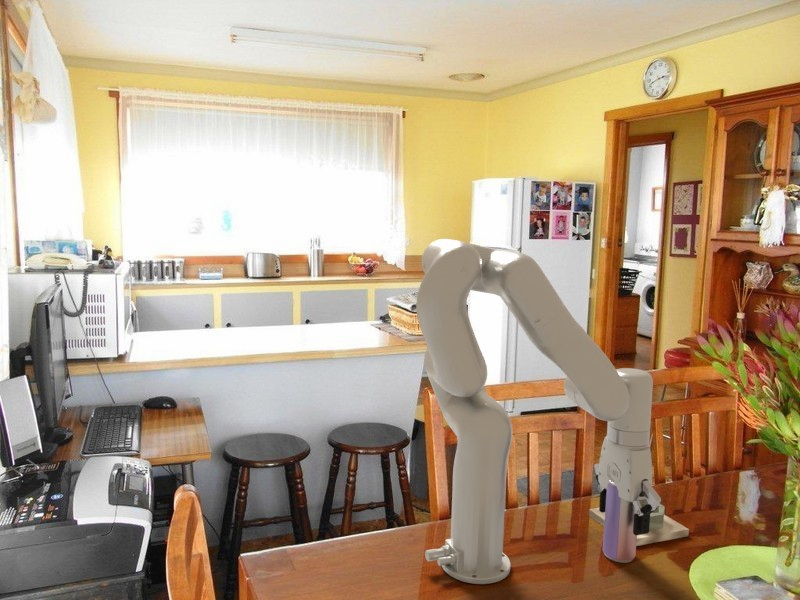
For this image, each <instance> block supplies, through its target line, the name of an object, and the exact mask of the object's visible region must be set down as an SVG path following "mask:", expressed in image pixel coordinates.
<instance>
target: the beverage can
mask: <svg viewBox="0 0 800 600" xmlns="http://www.w3.org/2000/svg"><path fill="white" fill-rule="evenodd" d="M639 497H640V494H639ZM639 502H640V501H639ZM636 513H637V512H636V510H635V507H634V505H633V502H627V501H625V500H623V499H621V498H620V497H619V496H618V489H617V484H615V483H613V482H611V481H610V480H609V483H608V485H607V494H606V508H605V522H604V526H603V537H602V538H603V539H602V552H603V554H604V556H605V557H606V558H607V559H609V560H611V561H613V562H617V563H622V564H623V563H625V564H626V563H630V562H632V561H633V560H634V559H635V557H636V553H637V546H636V541H637V536H636V535H634V534H633V523H634V514H636Z"/></svg>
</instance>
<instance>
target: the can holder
mask: <svg viewBox="0 0 800 600" xmlns="http://www.w3.org/2000/svg"><path fill="white" fill-rule="evenodd" d="M640 505H641V507H644V504H643V501H640ZM588 517H590V518H591V519H593V520H594V521H596V522H597V523H599V525H601V526H603V527H604V522H605V512H603V513H602V512H600V511H599V507H595V508H590V509H588ZM689 531H690V529H689V528H687V527H686V526H684V525H683V524H681V523H679V522H677V521H676V520H674V519H673V518H671V517H669V516H668V515H666V514H665V505H663V504H661V502H660V503H659V505H658V507H657V510H655V511H654V512H653V514H650V526H649V533H647V534H642V535H637V541H636V547H638V546H644V545H649V544H653V543H654V544H655V543H659V542H665V541H670V540H677V539H682V538H687V537H689V533H690V532H689Z"/></svg>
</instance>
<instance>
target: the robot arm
mask: <svg viewBox="0 0 800 600" xmlns="http://www.w3.org/2000/svg"><path fill="white" fill-rule="evenodd" d="M421 267H422V271H423V273H424V275H423V278H422V279H421V282H420V285H419V288H418V292H417V296H416V305H415V306H416V307H415V308H416V310H415V311H416V316H417V320H418V325H419V327H420V330H421V334H422V336H423V340H424V342H425V345H426V350H425V353H424V360H423V361H424V362H423V363H424V368H425V371H426V374H427V377H428V380H429V382H430V385H431V388H432V390H433V393H434V396H435V399H436V401H437V403H438V406H439V408H440V411H441V413H442V416H443V418H444V420H445V422H446V424H448V427H450V429H451V430H452V432H453V433H454V435H455V436H456V440H457V444H456V452H455V456H454V460H453V469H452V470H453V471H452V490H451V491H452V495H451V497H452V500H451V516H450V517H451V522H450V526H451V527H450V538H447V539H445V541H444V542H445V545H441V546H440V548H432V549H426V550H425V551H424V556H425V560H426V562H432V561H436V562H437V566H439V567H442V569H443V571H444V572H445V573H446V574H447V575H449V576H450V577H452V578H454V579H455V580H458V581H461V582H464V583H468V584H475V585H488V584H494V583H495V584H496V583H499V582H500V581H502V580H503V579H506V577H508V576H509V575H510V573H511V559H510V558H509V557H508V556H507V555H506V554H505V553H504V552H503V549H504V533H505V532H504V530H505V529H504V528H505V512H506V511H505V510H506V489H507V473H508V472H507V471H508V462H509V455H510V450H511V445H512V441H513V434H514V433H513V432H514V431H513V424H512V421H511V417H510V416H509V414H508V411H507V410H506V409H505V408H504V407H503V406H502V405H501V404H500V402H498V401H497V400H496V399H494V398H493V397H492V396H490V395H489V394H488V392H487V389H486V388H485V387H486V386H485V385H486V383H487V379H488V366H487V362H486V359H485V357H484V355H483V353H482V350H481V348H480V346H479V342H478V340H477V338H476V335H475V333H474V329H473V327H472V323H471V320H470V317H469V313H468V308H467V304H468V297H469V295H470V292H471V291H472V292H473V291H474V292H477V293H478V292H480V293H485V294H490V295H496V296H499V297H500V298H501V300H502V301H503V302H504V303H505V305H506V307H507V308H508V310H509V311H510V312H511V314H512V316H514V318H515V320H516V321H517V323H518V324H519V326H520V327H521V328H522V330H523V332H524V334H525V335H526V336H527V338H528V339H529V341H530V342H531V343H532V345H533V346H534V347H535V348H536V349H537V350H538V351H539V352H540V353H541V354H542V355H543V356H544V357H546V358H547V359H549V361H551V362H552V363H553V364H554V365H556V366H557V367H558V368H559V369H560V370H561V371H562V372H563V373H564V374H565V375H566V377H565V379H564V381H563V382H564V383H563V390H564V394H565V396H566V397H567V399H569V401H570V402H572V403H573V404H574V405H576V406H577V407H579V408H580V409H582V410H583V411H585V412H587V413H589V414H590V415H591V416H593V417H595V418H596V419H597V420H601V421H604V422H607V426H606V427H607V428H606V430H607V431H606V436H604V438H603V439H604V440H603V443H602V445H601V451H600V457H599V461H598V463H595V464H594V465H593V467H594V471H595V478H596V479H595V480H596V481H597V482H596V483H598V486H597V490H598V491H599V507H598V508H599V511H600V512H602V513H603V512H605V508H606V494H607V485H608V483H609V480H610V481H611V482H613V483H615V484H617V489H618V496H619V497H620V498H621V499H623V500H625V501H627V502H633V505H634V507H635V510H636V512H637V513H636V514H634V523H633V534H634V535H636V536H637V535H642V534H647V533H649V526H650V514H653V512H654V511H655V510H657V507H658V505H659V503H660V504H661V501H662V499H661V496H660V495H659V494H658V492H657V491H656V490H655V488H654V487H653V463H652V452H651V447H650V436H651V435H650V434H651V420H652V419H651V418H652V406H653V405H652V403H653V402H652V401H653V388H654V384H653V383H654V380H653V376H652V375H651V373H649V372H648V371H646V370H644V369H639V368H631V367H629V368H628V367H622V368H621V367H620V368H617V369H616V367H615V366H614V365H613V363H612V362H611V360H610V358H609V357H608V356H607V355H606V354H605V352H604V351H603V350H602V348H601V347H600V346H599V345H598V344H597V343H596V342H595V341H594V340H593V339H592V338H591V336H590V335H589V334H588V333H587V331H586V330H585V329H584V328H583V327H582V326H581V325H580V323H579V322H578V321H577V320H576V319H575V318H574V317H573V316H572V313H570V311H569V310H568V308H567V307H566V304H565V303H564V302H563V300H562V298H561V297H560V296H559V294H558V293H557V291H556V289H555V288H554V286H553V285H552V283H551V281H550V280H549V279H548V277H547V276H546V274H545V272H544V271H543V269H542V267H540V265H539V264H538V263H537V262H536V260H534V258H532V256H529V255H527V254H525V253H522V252H518V251H517V252H516V251H510V250H503V249H497V248H490V247H485V246H482V245H481V246H480V245H476V244H472V243H469V242H467V241H463V240H457V239H450V238H441V239H437V240H435V241H432V242H430V244H428V245H427V247H426V248H425V249H424V251H423V253H422V257H421ZM639 494H640V497H639ZM639 501H643V504H644V507H641V505H640V502H639Z"/></svg>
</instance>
